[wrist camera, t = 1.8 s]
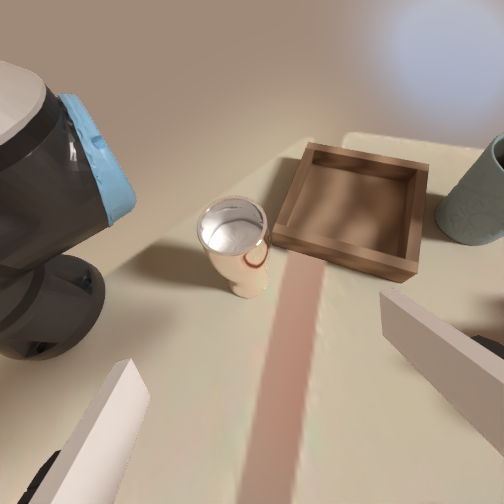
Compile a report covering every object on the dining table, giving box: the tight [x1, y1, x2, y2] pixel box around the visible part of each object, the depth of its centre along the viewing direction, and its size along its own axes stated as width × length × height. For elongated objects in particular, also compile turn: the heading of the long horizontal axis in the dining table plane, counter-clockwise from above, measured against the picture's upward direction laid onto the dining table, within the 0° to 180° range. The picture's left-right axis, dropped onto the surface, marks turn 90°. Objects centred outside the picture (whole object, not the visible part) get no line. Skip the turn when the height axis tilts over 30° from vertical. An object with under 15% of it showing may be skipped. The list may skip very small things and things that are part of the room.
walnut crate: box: [272, 142, 429, 283], centre depth 36 cm, size 19×19×4 cm
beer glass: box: [197, 196, 270, 298], centre depth 28 cm, size 7×7×15 cm
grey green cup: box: [435, 133, 504, 246], centre depth 30 cm, size 10×10×12 cm
